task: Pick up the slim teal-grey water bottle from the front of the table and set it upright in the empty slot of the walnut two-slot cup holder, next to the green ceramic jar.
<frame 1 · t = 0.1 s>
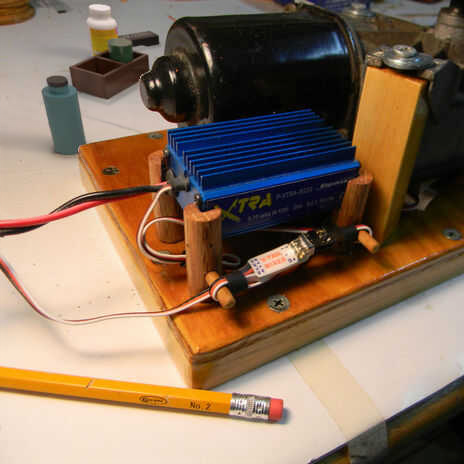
green jar: (123, 76, 112), point 1 cm above the table, touching cup holder
multiport hub: (138, 45, 130), on the table
cup holder: (113, 84, 109), on the table
supplement bottle: (107, 62, 118), on the table
water bottle: (70, 147, 87), on the table
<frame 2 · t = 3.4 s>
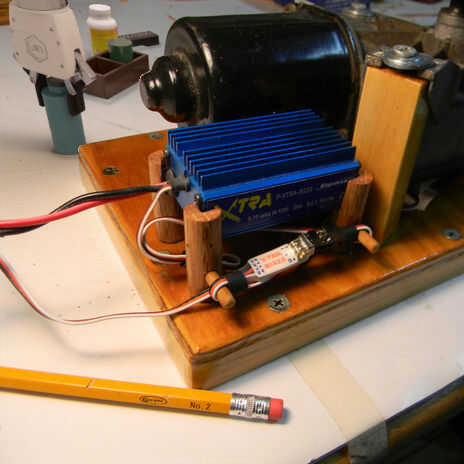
hand: (62, 107, 82), 8 cm above the table, tool pointing down, fingers closed on water bottle, 5 cm apart
water bottle: (70, 147, 87), on the table, touching gripper
everything else where it was.
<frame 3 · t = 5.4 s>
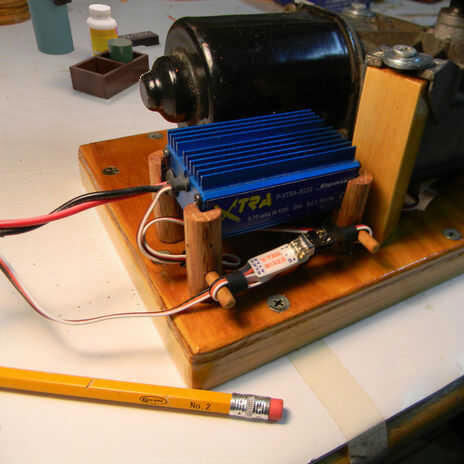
water bottle: (56, 49, 78), point 17 cm above the table, touching gripper
everything else where it was.
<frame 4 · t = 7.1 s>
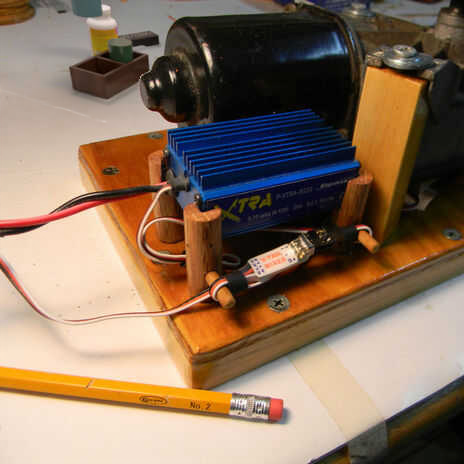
water bottle: (87, 13, 93), point 17 cm above the table, touching gripper
everything else where it was.
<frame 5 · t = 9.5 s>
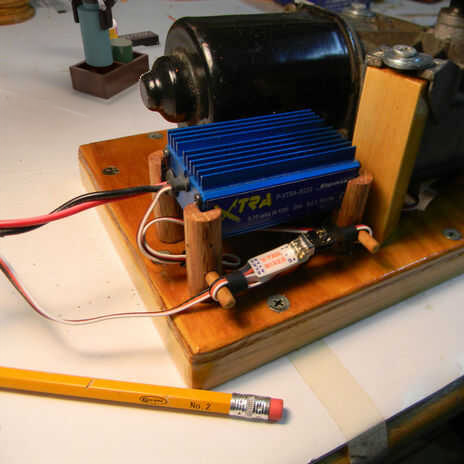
hand: (94, 24, 97), 14 cm above the table, tool pointing down, fingers closed on water bottle, 5 cm apart
water bottle: (99, 61, 102), point 6 cm above the table, touching gripper
everything else where it was.
when the fingers open (9 cm above the table, at t = 11.2 s): water bottle stays where it is, resting on cup holder.
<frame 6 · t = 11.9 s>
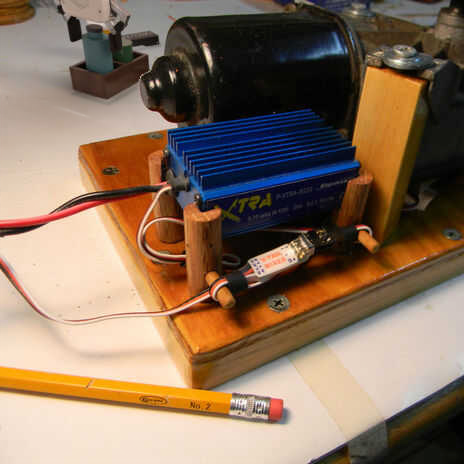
hand: (96, 45, 100), 10 cm above the table, tool pointing down, fingers open, 9 cm apart
water bottle: (102, 86, 106), point 1 cm above the table, touching cup holder
everything else where it was.
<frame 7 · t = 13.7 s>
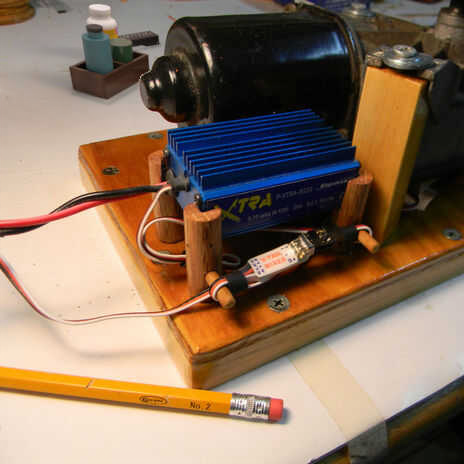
nothing on the table moved.
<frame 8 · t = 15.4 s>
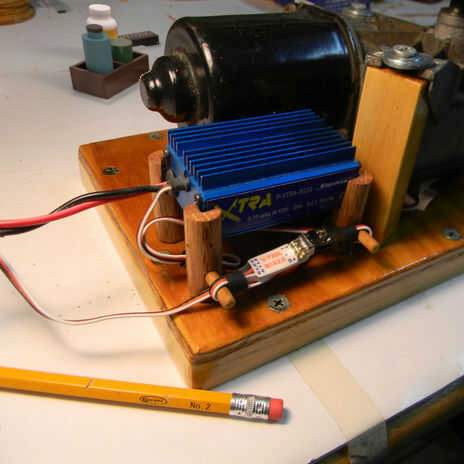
nothing on the table moved.
at the end: water bottle 0.1 cm from the target spot in the cup holder, point 0.8 cm above the cup holder's base; water bottle tilted 0°; the gripper is holding nothing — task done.
